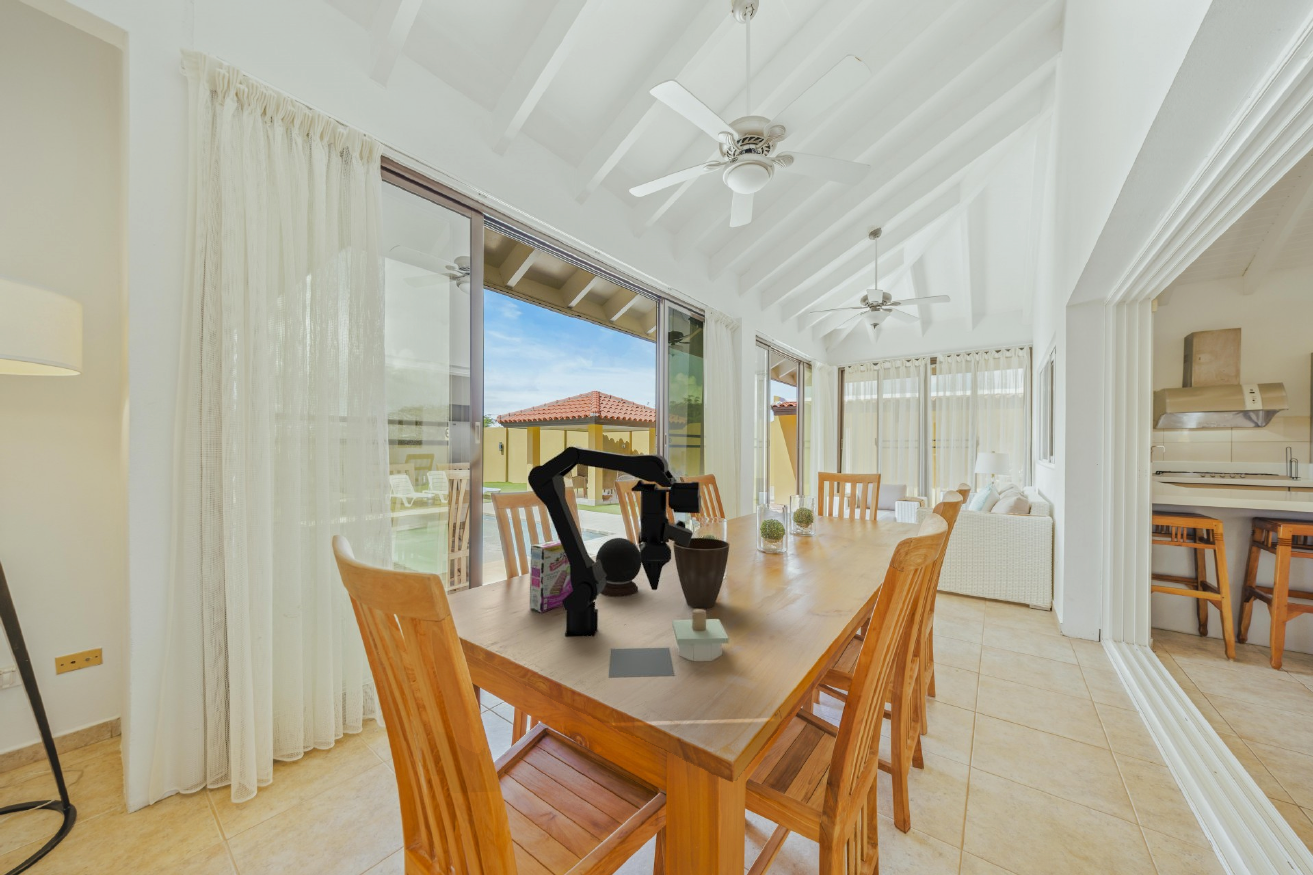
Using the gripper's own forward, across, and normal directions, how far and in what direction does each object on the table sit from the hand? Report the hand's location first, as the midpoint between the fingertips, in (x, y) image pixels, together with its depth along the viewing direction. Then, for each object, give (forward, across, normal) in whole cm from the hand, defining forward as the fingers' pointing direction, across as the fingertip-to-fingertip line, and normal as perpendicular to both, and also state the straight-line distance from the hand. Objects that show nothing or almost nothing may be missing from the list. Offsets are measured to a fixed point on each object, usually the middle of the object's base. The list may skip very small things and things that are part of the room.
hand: (653, 583), depth 107 cm
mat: (+12, -12, +3) cm, 17 cm away
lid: (+8, -8, -9) cm, 14 cm away
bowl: (+12, -8, -9) cm, 17 cm away
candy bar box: (+12, +22, +25) cm, 35 cm away
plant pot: (+12, +22, -14) cm, 29 cm away
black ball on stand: (+12, +34, +8) cm, 37 cm away
